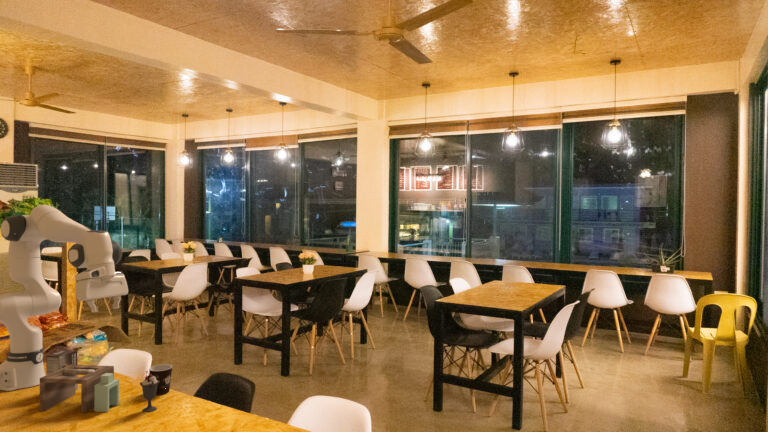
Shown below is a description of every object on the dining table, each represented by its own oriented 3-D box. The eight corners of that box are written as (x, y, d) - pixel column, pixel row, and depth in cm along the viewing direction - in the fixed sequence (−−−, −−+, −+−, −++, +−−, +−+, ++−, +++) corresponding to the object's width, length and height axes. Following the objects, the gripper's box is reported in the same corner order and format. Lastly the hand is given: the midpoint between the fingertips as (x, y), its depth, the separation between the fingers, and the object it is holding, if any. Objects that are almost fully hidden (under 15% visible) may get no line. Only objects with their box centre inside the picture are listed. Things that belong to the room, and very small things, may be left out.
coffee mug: (167, 386, 206) (167, 362, 205) (175, 392, 199) (175, 367, 199) (137, 393, 197) (138, 369, 197) (145, 399, 191) (145, 374, 191)
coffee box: (65, 387, 203) (65, 348, 203) (78, 388, 202) (78, 350, 202) (45, 395, 194) (45, 355, 194) (59, 397, 193) (59, 356, 193)
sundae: (139, 414, 178) (140, 373, 177) (139, 407, 184) (139, 368, 183) (159, 411, 181) (160, 370, 180) (158, 404, 187) (159, 365, 186)
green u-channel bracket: (94, 411, 180) (94, 377, 180) (106, 403, 187) (106, 371, 187) (107, 411, 180) (107, 377, 179) (119, 404, 187) (119, 371, 186)
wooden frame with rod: (39, 410, 180) (39, 375, 180) (70, 394, 196) (70, 362, 196) (86, 412, 179) (86, 377, 178) (113, 396, 195) (113, 363, 194)
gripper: (116, 272, 192) (121, 307, 190) (70, 276, 172) (75, 315, 171) (130, 270, 190) (134, 305, 189) (85, 273, 170) (89, 313, 169)
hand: (105, 310), depth 180 cm, fingers open, 8 cm apart
